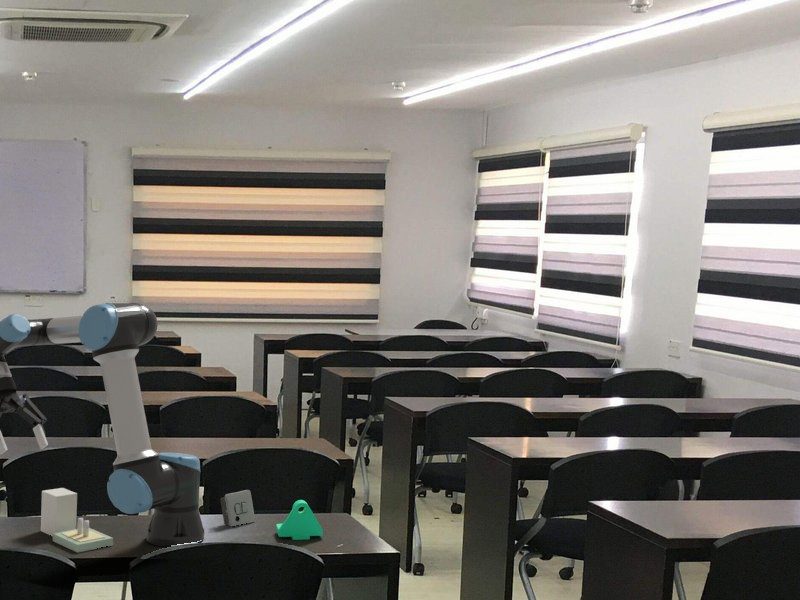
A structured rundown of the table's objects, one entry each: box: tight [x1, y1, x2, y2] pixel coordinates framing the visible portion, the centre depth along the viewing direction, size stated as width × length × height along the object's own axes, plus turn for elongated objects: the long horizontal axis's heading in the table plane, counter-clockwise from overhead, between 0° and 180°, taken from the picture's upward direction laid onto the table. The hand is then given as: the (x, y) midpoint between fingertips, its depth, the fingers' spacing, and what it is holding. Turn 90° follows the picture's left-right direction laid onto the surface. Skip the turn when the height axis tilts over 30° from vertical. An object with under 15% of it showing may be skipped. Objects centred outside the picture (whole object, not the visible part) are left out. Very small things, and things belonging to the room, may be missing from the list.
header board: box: [52, 517, 114, 553], centre depth 261 cm, size 13×10×6 cm
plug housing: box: [40, 487, 78, 537], centre depth 270 cm, size 8×6×11 cm
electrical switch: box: [220, 489, 256, 527], centre depth 287 cm, size 9×5×9 cm, turn 141°
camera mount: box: [275, 499, 324, 541], centre depth 277 cm, size 12×8×10 cm, turn 104°
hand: (24, 449), depth 274 cm, fingers open, 13 cm apart
